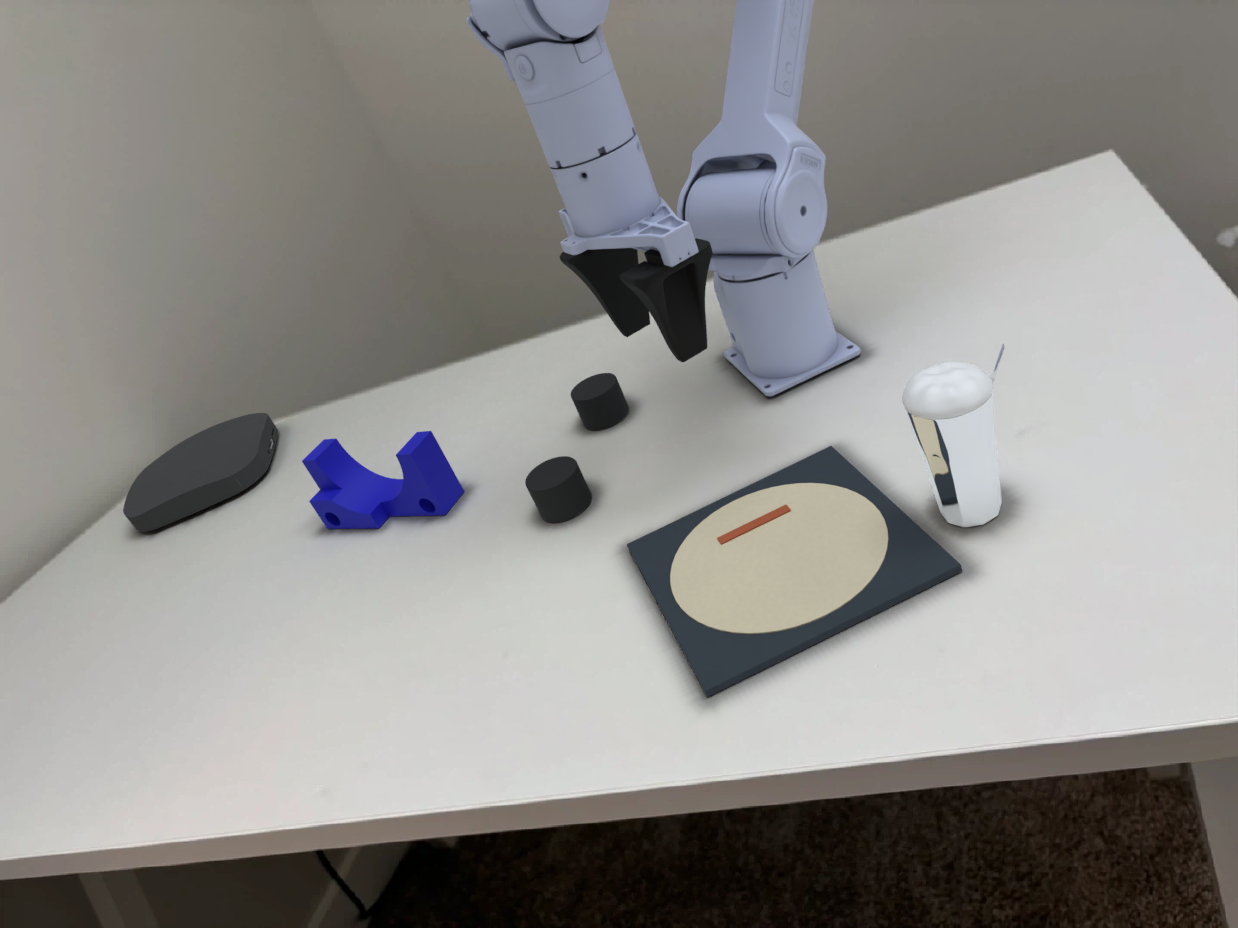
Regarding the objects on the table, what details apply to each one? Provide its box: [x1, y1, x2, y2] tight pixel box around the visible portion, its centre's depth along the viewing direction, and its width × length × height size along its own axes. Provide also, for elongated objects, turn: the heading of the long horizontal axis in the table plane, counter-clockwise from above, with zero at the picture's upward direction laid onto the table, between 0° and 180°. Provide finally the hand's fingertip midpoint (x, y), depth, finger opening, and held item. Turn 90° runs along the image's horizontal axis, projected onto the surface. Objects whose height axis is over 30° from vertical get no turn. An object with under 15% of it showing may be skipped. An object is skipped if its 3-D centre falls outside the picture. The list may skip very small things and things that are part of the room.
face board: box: [626, 445, 963, 698], centre depth 56 cm, size 15×15×1 cm
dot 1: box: [524, 455, 593, 524], centre depth 69 cm, size 4×4×3 cm
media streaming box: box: [122, 412, 279, 533], centre depth 97 cm, size 15×15×3 cm
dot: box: [570, 372, 630, 431], centre depth 78 cm, size 4×4×3 cm
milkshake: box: [901, 343, 1005, 528], centre depth 51 cm, size 4×5×10 cm
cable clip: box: [301, 430, 465, 530], centre depth 77 cm, size 12×4×6 cm, turn 65°
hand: (663, 341), depth 65 cm, fingers open, 7 cm apart
